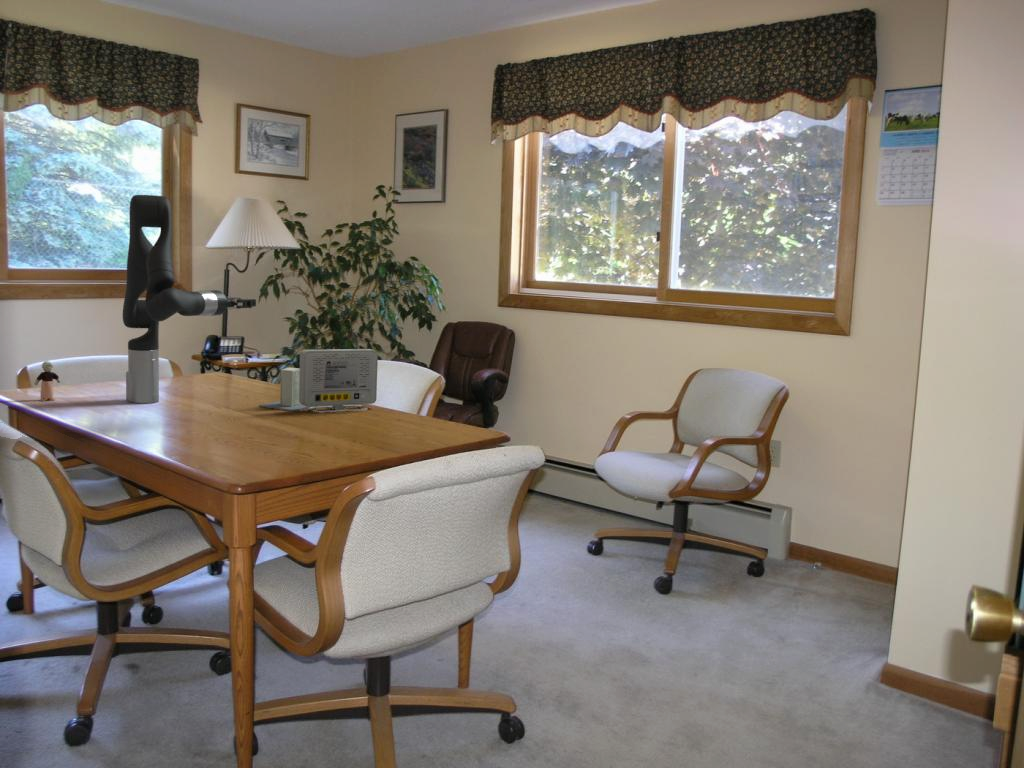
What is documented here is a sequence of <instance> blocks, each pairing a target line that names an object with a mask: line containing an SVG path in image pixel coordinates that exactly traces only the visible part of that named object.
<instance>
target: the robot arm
mask: <svg viewBox="0 0 1024 768" xmlns="http://www.w3.org/2000/svg"><path fill="white" fill-rule="evenodd" d="M172 215H173V214H172V205H171V201H170V199H169V198H168V197H167V196H165V195H154V194H153V195H151V194H134V195H132V197H131V199H130V202H129V241H128V242H129V243H128V251H127V259H126V285H125V293H124V299H123V305H122V321H123V324H124V326H125V328H127V329H147V331H146V332H144V334H142V335H140V336H138V337H134V338H132V339H130V340H128V342H127V359H128V360H127V362H128V363H127V364H128V370H127V371H126V373H125V394H126V397H125V398H126V401H127V402H129V403H132V402H133V404H151V403H158V402H160V373H159V372H160V369H159V368H160V365H159V361H160V358H159V355H160V354H159V347H160V345H159V342H160V341H159V334H160V333H159V332H160V331H159V330H160V329H159V328H160V327H159V326H160V322H164V321H166V320H168V319H169V318H170V317H172V316H174V315H175V314H179V315H180V316H184V317H195V316H197V317H211V316H214V317H215V316H220V315H222V314H224V313H225V312H226V310H232V309H233V310H239V309H252V308H253V307H256V306H257V299H253V298H251V299H250V298H249V299H248V298H241V297H237V296H235V297H234V296H230V295H228V296H226V295H225V294H224V292H222V290H221V291H220V290H215V289H213V290H210V289H209V290H208V289H206V290H196V291H185V290H182V289H179V288H174V287H173V286H174V285H175V282H176V279H175V271H174V263H173V249H172V248H173V220H172V219H173V217H172ZM143 228H160V233H159V236H158V238H157V240H156V241H155V243H154V244H152V243H151V242H150V240H149V239H148V238H147V236H146V235H145V233H144V230H143ZM144 292H146V294H145V299H140V297H141V295H143V293H144Z"/></svg>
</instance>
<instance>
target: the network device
mask: <svg viewBox="0 0 1024 768" xmlns="http://www.w3.org/2000/svg"><path fill="white" fill-rule="evenodd" d="M378 357H379V354H378V352H377V351H376V350H374V349H371V348H357V349H356V348H349V349H348V348H347V349H345V348H343V349H339V348H337V349H303V350H301V351H300V353H299V368H300V375H299V402H300V404H302V405H304V406H306V407H310V408H308V411H310V410H311V411H310V412H312V411H313V412H312V413H314V412H319V413H318V414H324V413H323V412H337V411H357V410H367V411H368V407H366V406H364V405H372V404H375V403H376V401H377V394H378V393H377V391H378V388H377V387H378ZM314 406H317V407H314ZM355 406H357V407H355ZM344 407H348V408H352V409H347V408H344ZM359 407H360V408H359ZM314 408H327V409H328V410H318V409H314ZM329 408H333V409H335V410H333V409H330V410H329ZM361 408H363V409H361ZM321 412H322V413H321ZM357 412H358V411H357ZM337 413H338V412H337Z"/></svg>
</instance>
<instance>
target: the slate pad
mask: <svg viewBox="0 0 1024 768" xmlns="http://www.w3.org/2000/svg"><path fill="white" fill-rule="evenodd" d="M258 406H259V408H264V407H266V408H265V409H271V408H274V409H273V410H278V409H279V410H281V411H285V410H286V412H292V411H293V412H294V411H295V412H297V411H298V410H299V411H303V410H302V409H304V410H307V409H306V408H308V409H309V408H310V407H306V406H304V405H302V404H300V403H299V404H297V405H295V406H292V407H291V406H281V405H280V400H277V401H274V402H273V401H272V402H267V403H262V404H259V405H258ZM314 407H315V406H314ZM295 412H294V413H295Z"/></svg>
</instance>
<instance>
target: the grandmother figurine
mask: <svg viewBox="0 0 1024 768" xmlns="http://www.w3.org/2000/svg"><path fill="white" fill-rule="evenodd" d="M41 368H42V370H43V371H42V372H40V374H38V376H37V377H36V379H35V382H34V386H38V385H39V382H40V381H41V383H40V384H41V385H40V397H39V398H40V399H39V402H47V401H48V402H49V401H51V402H52V401H55V400H56V399H55V398H54V380H56V383H57V384H59V383H61V380H60V378H59V375H58V374H57V373H55V372H53V371H52V370H53V368H54V364H53V363H52V362H51V361H48V360H46V361H43V362H42V364H41Z"/></svg>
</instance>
